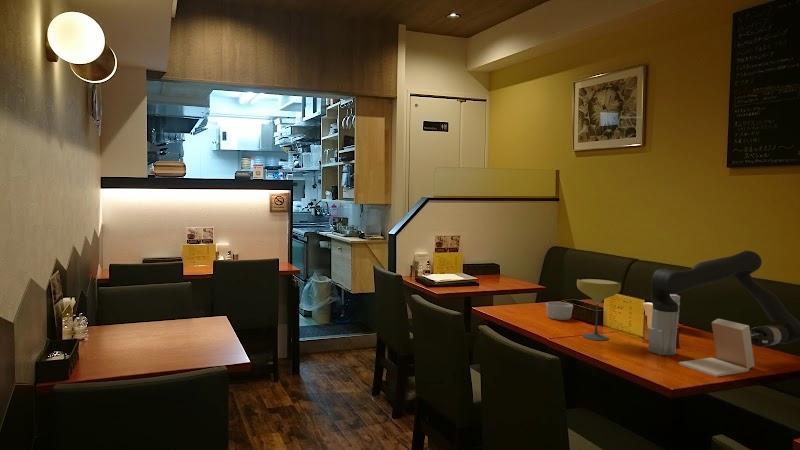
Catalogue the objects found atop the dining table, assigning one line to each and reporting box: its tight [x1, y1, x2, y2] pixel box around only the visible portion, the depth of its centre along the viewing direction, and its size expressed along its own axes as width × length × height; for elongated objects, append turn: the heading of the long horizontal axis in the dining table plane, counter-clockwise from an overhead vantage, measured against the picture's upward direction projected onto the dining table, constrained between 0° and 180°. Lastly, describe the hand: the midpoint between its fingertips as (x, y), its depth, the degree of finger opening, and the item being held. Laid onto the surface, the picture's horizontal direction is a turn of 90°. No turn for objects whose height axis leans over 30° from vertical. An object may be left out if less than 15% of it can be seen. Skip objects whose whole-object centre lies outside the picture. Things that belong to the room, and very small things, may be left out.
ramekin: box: [545, 301, 574, 321], centre depth 286 cm, size 13×13×7 cm
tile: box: [711, 318, 755, 370], centre depth 215 cm, size 4×12×16 cm, turn 25°
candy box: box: [670, 294, 681, 326], centre depth 273 cm, size 14×6×16 cm, turn 168°
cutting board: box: [678, 357, 750, 378], centre depth 211 cm, size 18×15×1 cm
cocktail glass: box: [576, 276, 622, 342], centre depth 249 cm, size 18×18×25 cm
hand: (736, 339), depth 216 cm, fingers closed
